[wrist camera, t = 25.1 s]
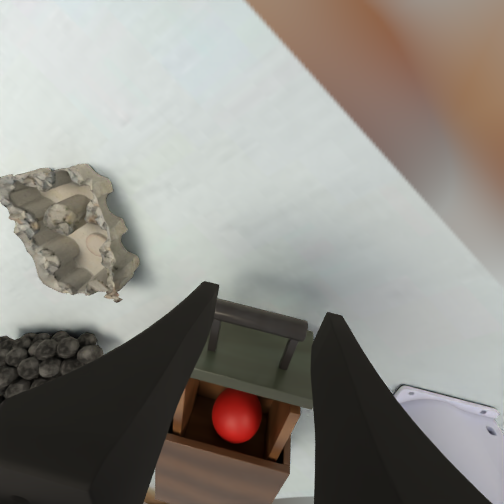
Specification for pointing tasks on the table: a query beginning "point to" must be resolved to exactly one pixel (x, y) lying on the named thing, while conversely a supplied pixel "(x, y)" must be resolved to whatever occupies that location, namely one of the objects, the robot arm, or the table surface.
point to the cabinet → (216, 474)
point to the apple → (236, 415)
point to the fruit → (42, 359)
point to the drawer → (249, 377)
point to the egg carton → (70, 229)
